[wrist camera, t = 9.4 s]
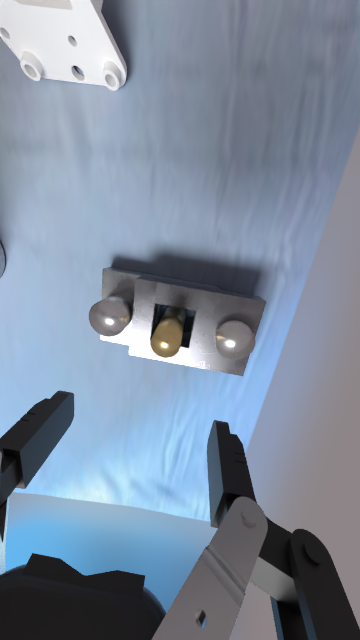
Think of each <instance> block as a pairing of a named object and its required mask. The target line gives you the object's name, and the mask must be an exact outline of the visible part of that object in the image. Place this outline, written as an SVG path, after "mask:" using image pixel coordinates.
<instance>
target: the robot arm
mask: <svg viewBox="0 0 360 640" xmlns="http://www.w3.org/2000/svg"><path fill="white" fill-rule="evenodd" d="M4 267H5V256H4V251H3V248H2V246H1V244H0V277H1V276H2V274H3V271H4ZM73 418H74V394H73V393H70V392H65V391H57V392H56V393H55V394H54V395H53V396H52V397H51V398H50V399H44V400H42V401H40V402H39V403H37V404H35V405H34V406H33V407H32V408H31V409H30V410H29V411H28V412H27V414H25V415H24V416H23V417H22V418H21V419H20V421H18V422H17V423H16V424H15V425H14V426H13V427H11V428H10V429H9V430H8V431H7V432H6V433H5V434H4V435H3V436H2V437H1V438H0V640H229V638H230V635H231V632H232V629H233V627H234V624H235V621H236V619H237V616H238V613H239V611H240V608H241V605H242V602H243V599H244V596H245V590H246V587H247V584H248V582H249V581H250V582H251V583H253V584H254V585H255V586H257V587H258V588H260V589H261V590H263V591H264V592H266V593H267V594H268V595H270V598H271V604H272V610H273V615H274V621H275V627H276V632H277V638H278V640H360V629H359V626H358V624H357V621H356V619H355V616H354V614H353V611H352V609H351V606H350V604H349V601H348V599H347V596H346V593H345V591H344V588H343V586H342V583H341V581H340V579H339V576H338V573H337V571H336V568H335V566H334V563H333V561H332V558H331V556H330V554H329V552H328V550H327V549H326V547H325V546H324V545H323V543H322V542H321V541H320V540H319V539H318V538H317V537H316V536H315V535H313V534H312V533H311V532H309V531H307V530H304V529H296V530H295V531H294V532H293V533H290V532H289V531H287V530H285V529H284V528H282V527H280V526H278V525H277V524H275V523H273V522H272V521H271V520H269V519H268V518H267V517H266V516H265V514H264V512H263V511H262V509H261V507H260V506H259V505H258V504H257V502H256V499H255V495H254V491H253V487H252V482H251V478H250V474H249V470H248V466H247V461H246V457H245V453H244V448H243V444H242V443H241V441H240V439H239V438H238V436H237V435H235V434H230V430H229V425H228V423H227V422H222V421H217V420H214V421H213V425H212V428H211V432H210V435H209V439H208V444H207V462H208V481H209V500H210V519H211V527H215V528H218V530H217V532H216V533H215V535H214V537H213V538H212V540H211V542H210V544H209V545H208V546H207V547H206V548H205V549H204V551H203V552H202V554H201V556H200V557H199V559H198V561H197V562H196V564H195V566H194V568H193V570H192V571H191V573H190V575H189V576H188V578H187V580H186V581H185V583H184V585H183V586H182V588H181V590H180V591H179V593H178V595H177V597H176V598H175V600H174V602H173V604H172V605H171V607H170V609H169V610H168V612H167V613H166V611H165V610H164V608H163V606H162V605H161V603H160V601H159V600H158V599H157V598H156V596H155V595H154V594H153V593H152V592H151V591H149V590H148V589H147V588H146V587H144V580H145V576H144V575H139V574H134V573H129V572H123V571H118V570H116V571H110V572H105V573H99V574H94V575H88V576H84V575H82V574H81V573H79V572H78V571H77V570H75V569H74V568H72V567H71V566H69V565H68V564H66V563H65V562H64V561H63V560H61V559H58V558H53V557H49V556H44V555H39V554H34V553H33V554H32V555H31V557H30V559H29V561H28V563H27V564H26V565H22V566H18V567H16V568H13V569H11V570H9V571H6V558H5V544H6V533H7V521H8V509H9V495H10V494H11V493H12V492H13V490H14V489H15V488H16V487H17V488H22V489H25V488H26V487H27V485H28V484H29V483H30V481H31V480H32V478H33V477H34V476H35V474H36V473H37V471H38V470H39V469H40V467H41V466H42V464H43V463H44V462H45V460H46V459H47V457H48V456H49V455H50V453H51V452H52V450H53V449H54V448H55V446H56V445H57V443H58V442H59V440H60V439H61V438H62V436H63V435H64V433H65V432H66V431H67V429H68V428H69V426H70V425H71V423H72V421H73Z"/></svg>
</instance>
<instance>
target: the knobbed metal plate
mask: <svg viewBox="0 0 360 640" xmlns="http://www.w3.org/2000/svg"><path fill="white" fill-rule="evenodd" d="M160 304H162V305H168V306H173V307H179V308H184V309H190V310H195V312H194V317H193V322H192V328H191V333H188V332H183V334H182V340H181V345H180V349H179V351H178V353H177V354H176V355H175V356H173V357H170V358H163V357H160V356H158V355H156V354H155V353H154V352H153V350H152V349H151V345H150V342H151V338H152V336H153V334H154V332H155V330H156V328H157V326H158V319H159V311H160ZM265 304H266V301H265V300H264V299H262V298H261V297H259V296H253V295H247V294H242V293H236V292H230V291H225V290H220V288H219V287H218V286H214V285H209V284H203V283H197V282H192V281H186V280H180V279H175V278H169V277H163V276H158V275H152V274H147V273H141V272H135V271H130V270H124V269H118V268H113V267H109V268H104V269H103V278H102V300H101V301H99V302H97V303H96V304H94V305H93V306H92V307H91V309H90V312H89V321H90V324H91V326H92V327H93V329H94V330H95V331H96V332H98V333H99V334H101V335H100V340H104V341H110V342H115V343H120V344H126V345H130V350H129V355H133V356H139V357H144V358H149V359H155V360H160V361H165V362H171V363H176V364H181V365H187V366H192V367H197V368H202V369H208V370H213V371H218V372H224V373H229V374H234V375H240V376H243V374H244V371H245V368H246V365H247V362H248V358H249V355H250V353H251V352H252V351H253V349H254V347H255V336H256V333H257V330H258V327H259V323H260V320H261V317H262V314H263V311H264V307H265Z"/></svg>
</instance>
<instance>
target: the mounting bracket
mask: <svg viewBox="0 0 360 640" xmlns="http://www.w3.org/2000/svg"><path fill="white" fill-rule="evenodd" d="M102 4H103V0H0V37H1V38H2V39H3V41H4V42H5V43H6V44H7V45H8V47H9V48H10V49H11V50H12V51H13V53H14V54H15V55H16V56H17V58H18V59H19V60H20V61H21V63H20V64H21V68H22V70H23V71H24V73H25V74H26V75H27V76H28V77H29V78H31V79H32V80H34V81H39V80H40V78H46V79H54V80H62V81H70V82H79V83H87V84H95V85H103V86H106V87H107V88H109V89H110V90H113V91H116V90H117V89H118V88H119V87H121V86H123V85H124V83H125V81H126V76H127V67H126V63H125V61H124V59H123V57H122V55H121V53H120V50H119V48H118V46H117V44H116V42H115V40H114V38H113V36H112V34H111V32H110V30H109V28H108V26H107V23H106V21H105V19H104V17H103V15H102V13H101V9H102ZM5 29H6V30H7V31H6V30H5ZM71 36H73V37H74V38H75V40H74V39H73V38H72V37H71ZM74 65H75V66H78V67H79V68H80V69H81V70H82V71H83V73H84V75H80V74H79V73H77V72H76V70H75V69H74V67H73V66H74Z"/></svg>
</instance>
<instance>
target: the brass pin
mask: <svg viewBox="0 0 360 640" xmlns="http://www.w3.org/2000/svg"><path fill="white" fill-rule="evenodd" d="M185 317H186V312H185V310H184V308H179V307H173V306H169V307H168V308H167V309H166V311H165V313H164V315H163V317H162V319H161V321H160V323H159V325H158V327H157V328H156V330H155V332H154V334H153V336H152V338H151V342H150V345H151V349H152V350H153V352H154V353H155V354H156V355H158V356H160V357H163V358H170V357H173V356H175V355H176V354H177V353H178V351H179V349H180V345H181V340H182V334H183V328H184V323H185Z"/></svg>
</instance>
